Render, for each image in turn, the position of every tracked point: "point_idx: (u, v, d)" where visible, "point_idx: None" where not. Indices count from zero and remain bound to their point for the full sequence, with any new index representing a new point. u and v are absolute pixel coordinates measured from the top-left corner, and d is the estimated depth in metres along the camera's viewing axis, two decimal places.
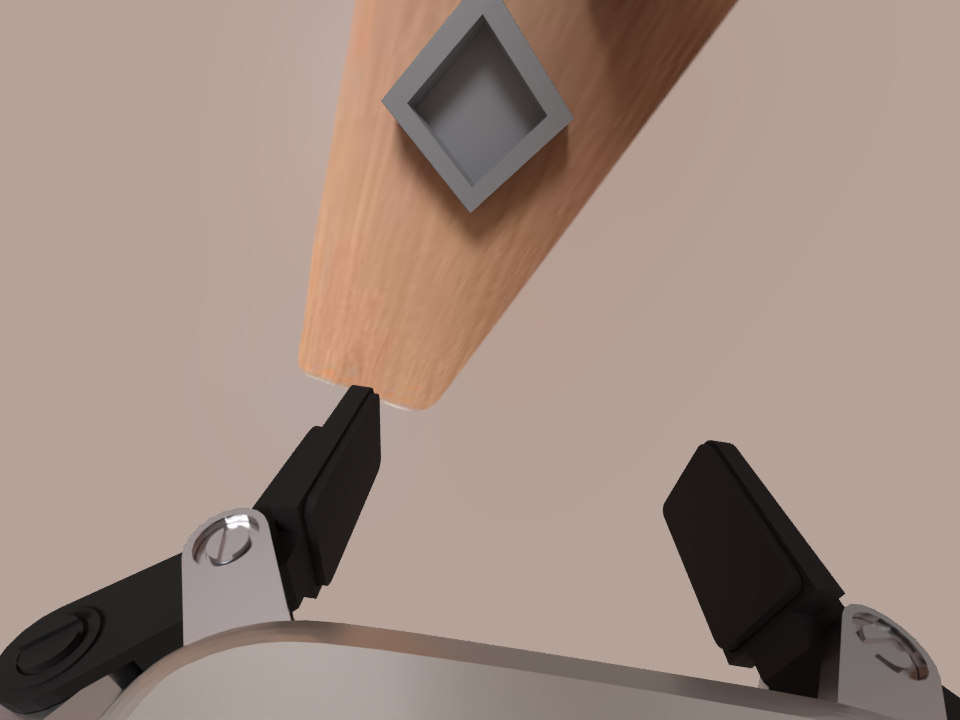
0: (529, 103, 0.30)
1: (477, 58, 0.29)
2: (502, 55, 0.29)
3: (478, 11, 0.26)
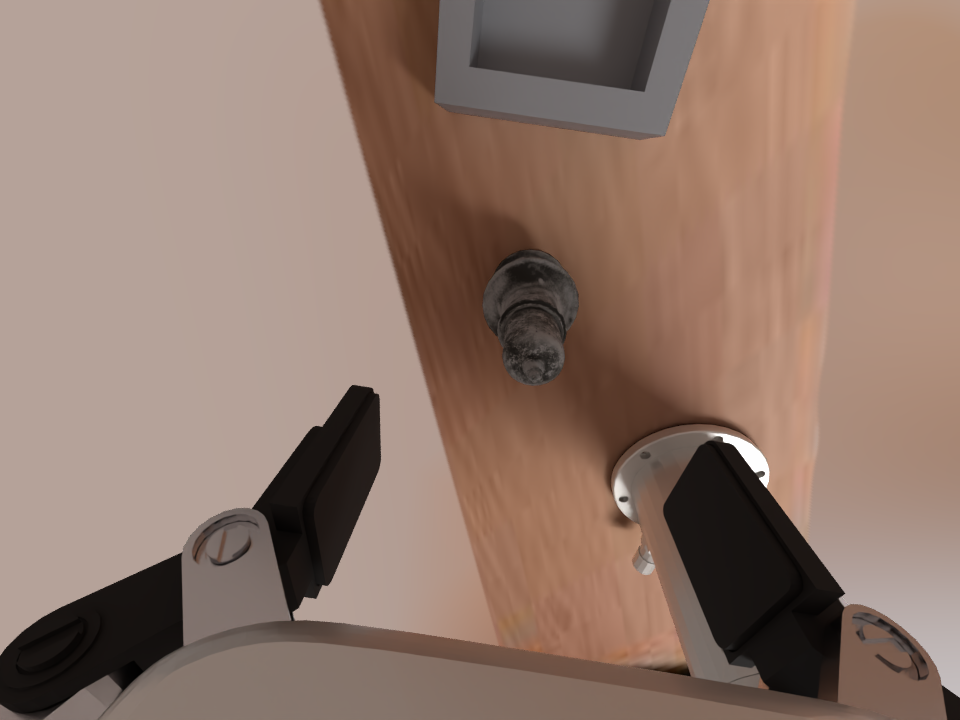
0: None
1: (617, 55, 0.18)
2: None
3: (652, 89, 0.16)
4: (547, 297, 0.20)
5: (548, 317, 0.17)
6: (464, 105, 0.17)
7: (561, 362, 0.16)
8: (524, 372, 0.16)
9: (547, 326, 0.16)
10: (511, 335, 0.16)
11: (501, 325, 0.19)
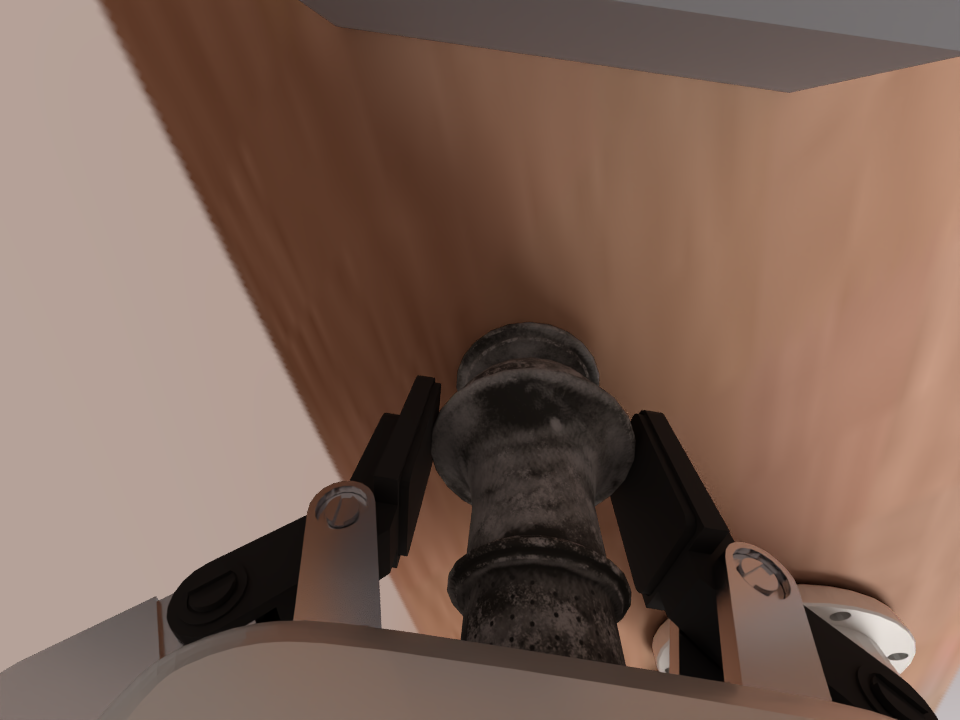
0: None
1: None
2: None
3: None
4: (573, 478, 0.08)
5: (590, 619, 0.06)
6: None
7: None
8: None
9: None
10: None
11: (456, 587, 0.07)
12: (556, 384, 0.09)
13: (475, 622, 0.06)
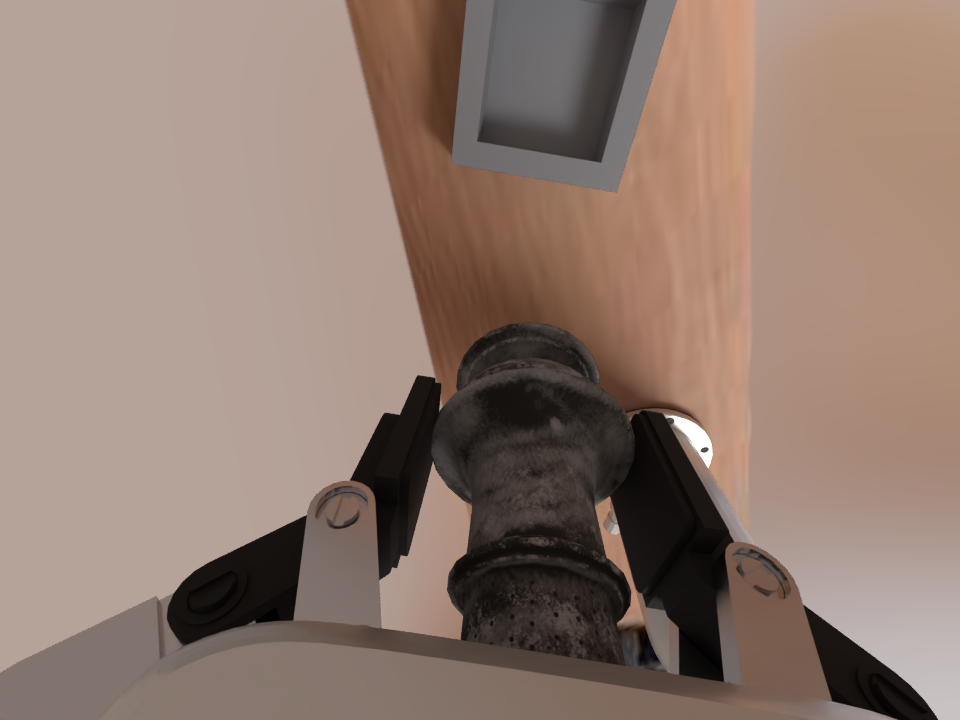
0: (506, 141, 0.25)
1: (585, 130, 0.24)
2: (561, 155, 0.25)
3: (606, 161, 0.23)
4: (573, 478, 0.08)
5: (589, 618, 0.06)
6: (472, 167, 0.23)
7: None
8: None
9: None
10: None
11: (456, 588, 0.07)
12: (556, 384, 0.09)
13: (475, 622, 0.06)
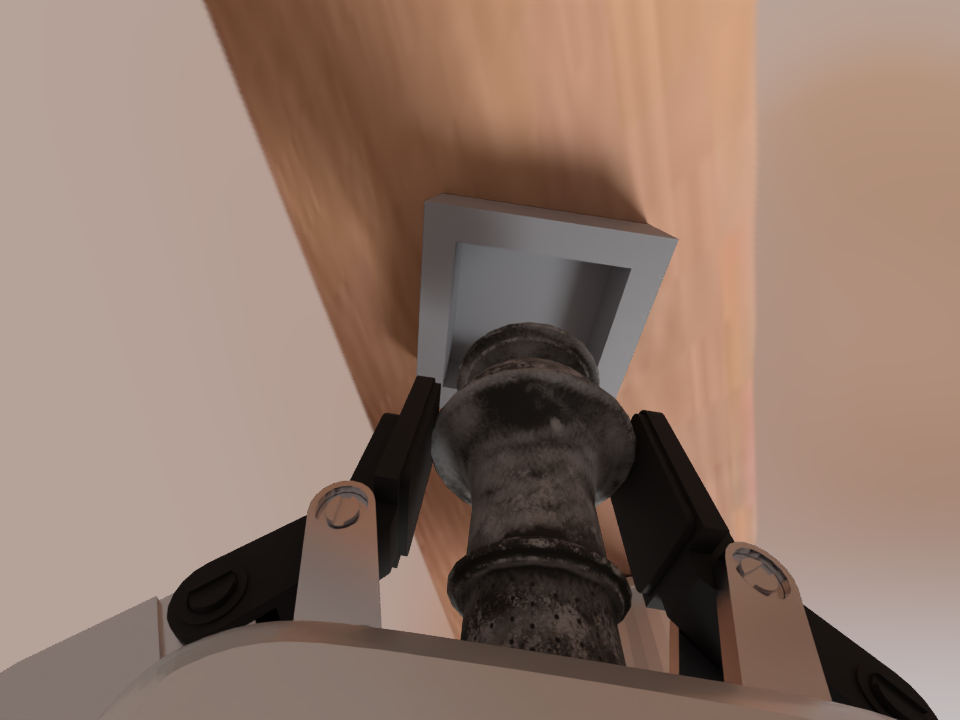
0: None
1: None
2: None
3: None
4: (573, 478, 0.08)
5: (590, 621, 0.06)
6: (439, 407, 0.21)
7: None
8: None
9: None
10: None
11: (456, 589, 0.07)
12: (556, 384, 0.09)
13: (475, 624, 0.06)
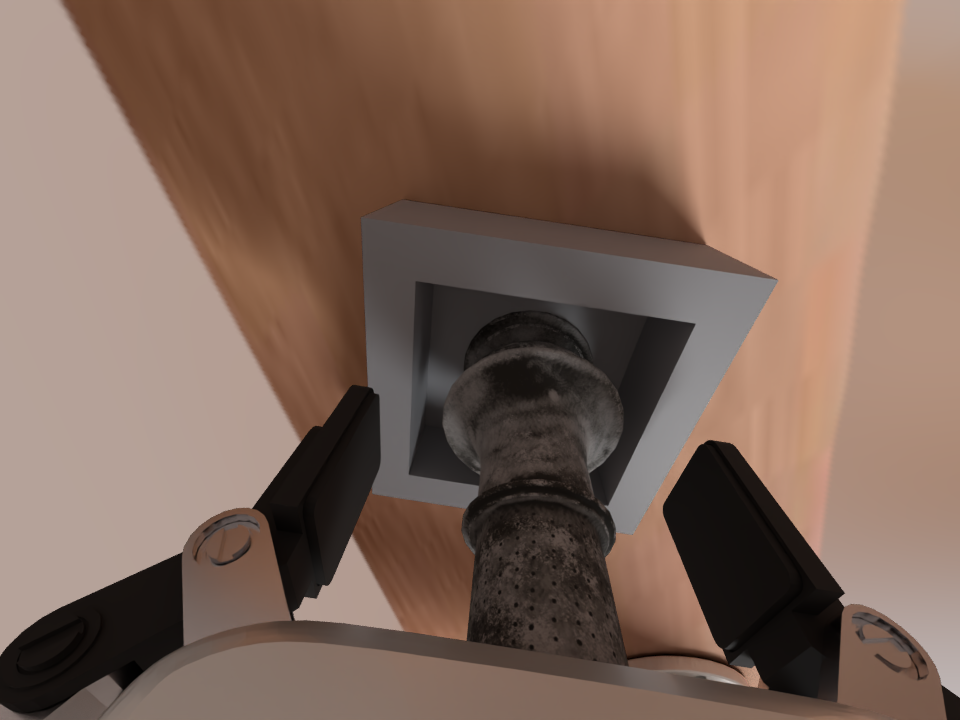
0: None
1: None
2: None
3: (616, 505, 0.14)
4: (568, 439, 0.09)
5: (580, 540, 0.07)
6: (406, 498, 0.15)
7: None
8: None
9: (583, 611, 0.06)
10: (486, 641, 0.06)
11: (470, 525, 0.08)
12: (554, 361, 0.10)
13: (487, 546, 0.07)
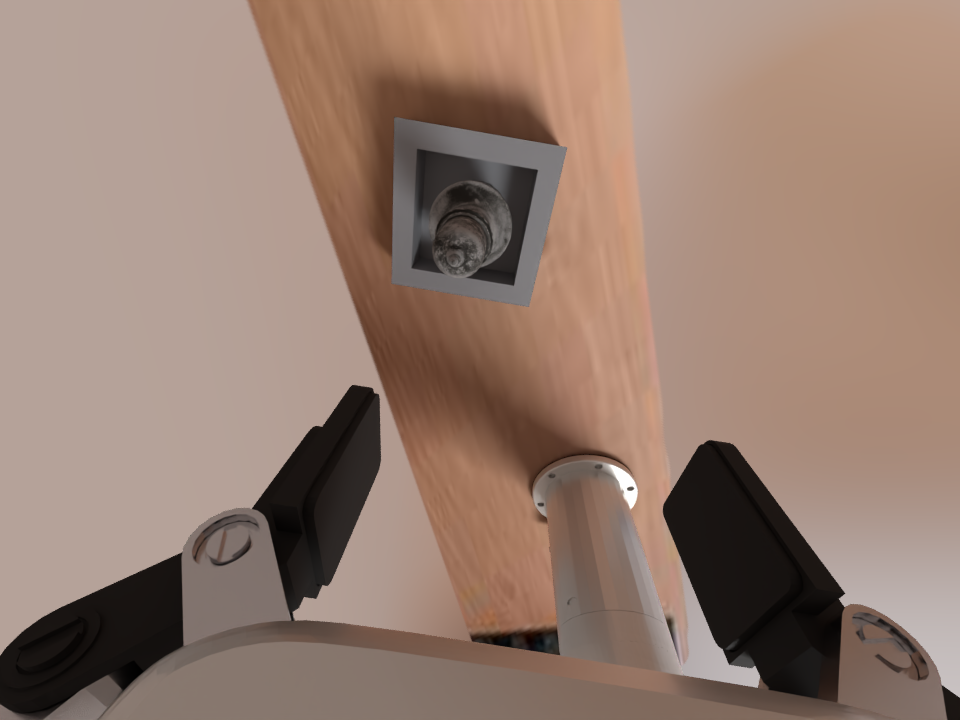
0: None
1: (505, 250, 0.29)
2: (487, 267, 0.30)
3: (518, 284, 0.27)
4: (480, 213, 0.23)
5: (474, 222, 0.20)
6: (409, 286, 0.28)
7: (480, 254, 0.19)
8: (448, 261, 0.19)
9: (469, 225, 0.19)
10: (438, 232, 0.19)
11: (437, 233, 0.21)
12: (477, 186, 0.23)
13: None
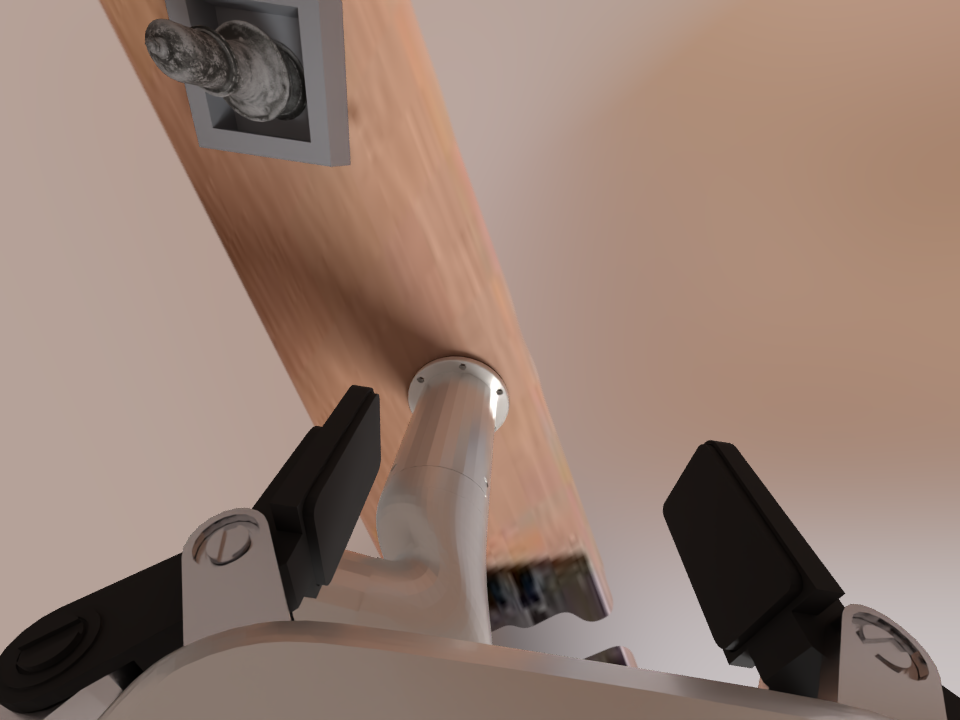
0: (256, 128, 0.31)
1: None
2: (302, 138, 0.31)
3: (314, 141, 0.28)
4: (237, 45, 0.24)
5: (203, 33, 0.21)
6: (216, 148, 0.29)
7: (188, 48, 0.20)
8: (155, 53, 0.20)
9: (182, 25, 0.20)
10: None
11: None
12: (242, 25, 0.25)
13: None
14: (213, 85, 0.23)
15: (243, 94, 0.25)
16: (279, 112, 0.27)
